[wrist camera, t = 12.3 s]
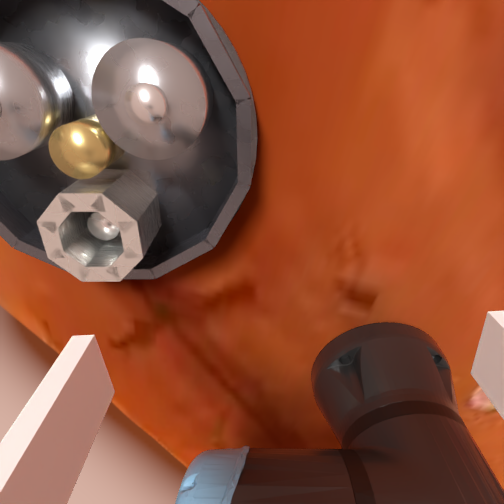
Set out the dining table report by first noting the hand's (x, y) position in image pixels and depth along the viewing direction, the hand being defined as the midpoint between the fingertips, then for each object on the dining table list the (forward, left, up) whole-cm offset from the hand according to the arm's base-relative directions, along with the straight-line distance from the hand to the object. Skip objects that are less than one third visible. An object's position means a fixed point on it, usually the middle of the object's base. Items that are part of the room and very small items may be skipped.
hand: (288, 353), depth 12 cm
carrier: (+4, +13, -21) cm, 25 cm away
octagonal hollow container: (-2, +13, -20) cm, 23 cm away
